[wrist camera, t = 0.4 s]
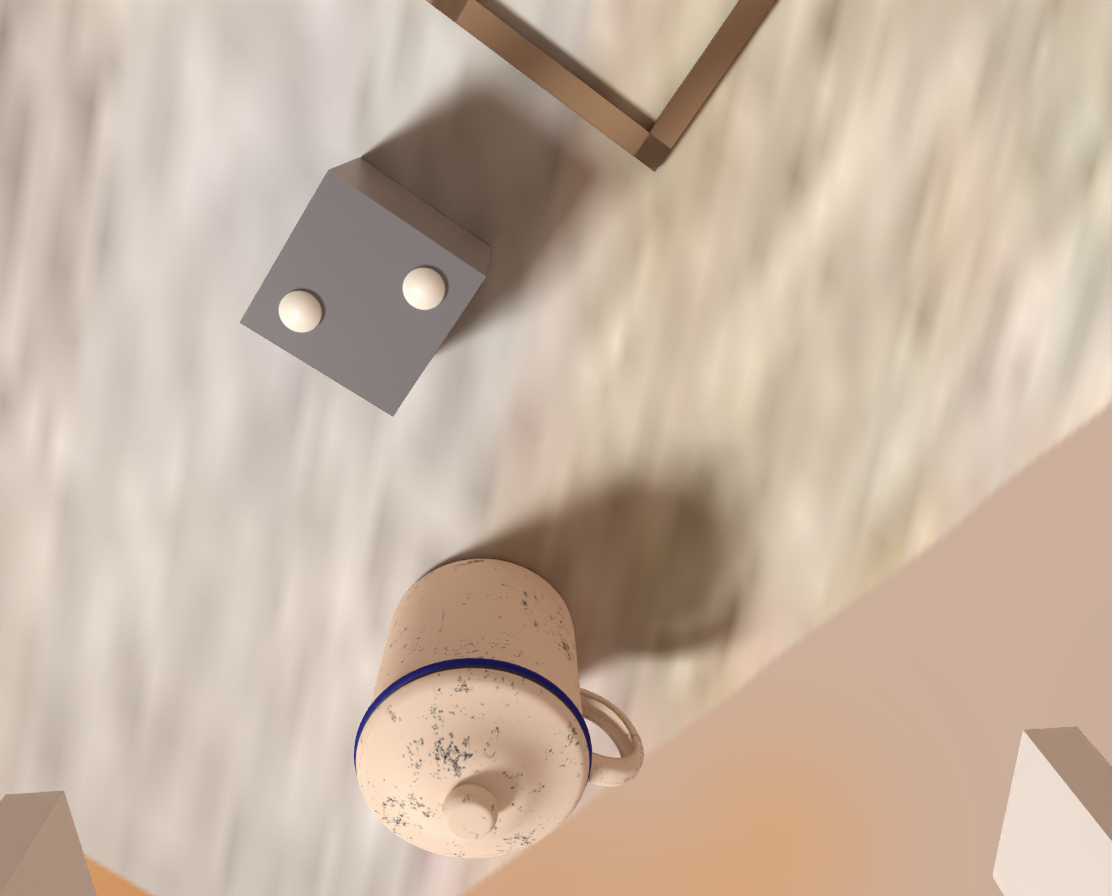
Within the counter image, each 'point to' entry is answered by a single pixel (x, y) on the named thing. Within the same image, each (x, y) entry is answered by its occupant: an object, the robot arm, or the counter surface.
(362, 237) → the die
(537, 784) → the teacup with lid
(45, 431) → the counter surface
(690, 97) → the brown flat frame
